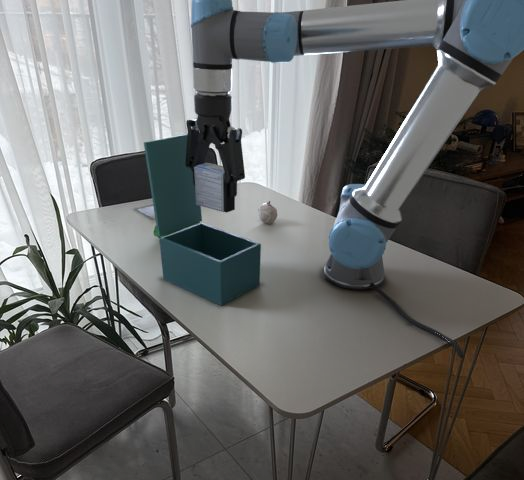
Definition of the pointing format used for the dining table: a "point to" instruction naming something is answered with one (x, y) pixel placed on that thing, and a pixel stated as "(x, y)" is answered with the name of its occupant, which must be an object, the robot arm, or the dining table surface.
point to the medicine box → (210, 186)
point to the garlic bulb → (267, 213)
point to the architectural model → (148, 211)
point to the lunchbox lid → (171, 184)
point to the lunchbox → (211, 262)
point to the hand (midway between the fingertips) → (214, 205)
